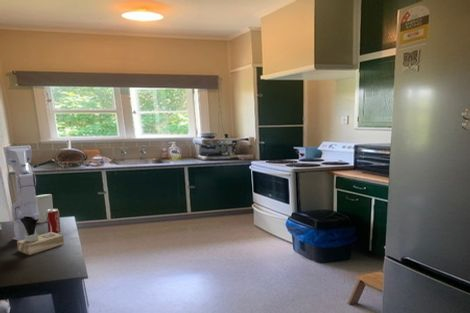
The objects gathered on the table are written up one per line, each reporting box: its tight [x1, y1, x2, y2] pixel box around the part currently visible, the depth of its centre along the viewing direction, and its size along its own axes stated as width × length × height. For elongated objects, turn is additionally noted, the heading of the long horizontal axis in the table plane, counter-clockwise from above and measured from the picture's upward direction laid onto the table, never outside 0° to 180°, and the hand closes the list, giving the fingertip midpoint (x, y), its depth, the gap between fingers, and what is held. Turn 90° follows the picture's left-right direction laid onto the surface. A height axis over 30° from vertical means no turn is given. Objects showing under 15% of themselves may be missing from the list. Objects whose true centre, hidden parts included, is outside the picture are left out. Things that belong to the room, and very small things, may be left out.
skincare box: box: [36, 193, 54, 224], centre depth 177 cm, size 8×6×15 cm
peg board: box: [16, 232, 65, 256], centre depth 135 cm, size 10×14×4 cm
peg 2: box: [43, 234, 55, 238], centre depth 138 cm, size 4×4×4 cm
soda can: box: [46, 208, 61, 234], centre depth 153 cm, size 5×5×12 cm
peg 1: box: [24, 231, 39, 243], centre depth 131 cm, size 4×4×4 cm
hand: (31, 233), depth 131 cm, fingers closed, pressing on peg 1
